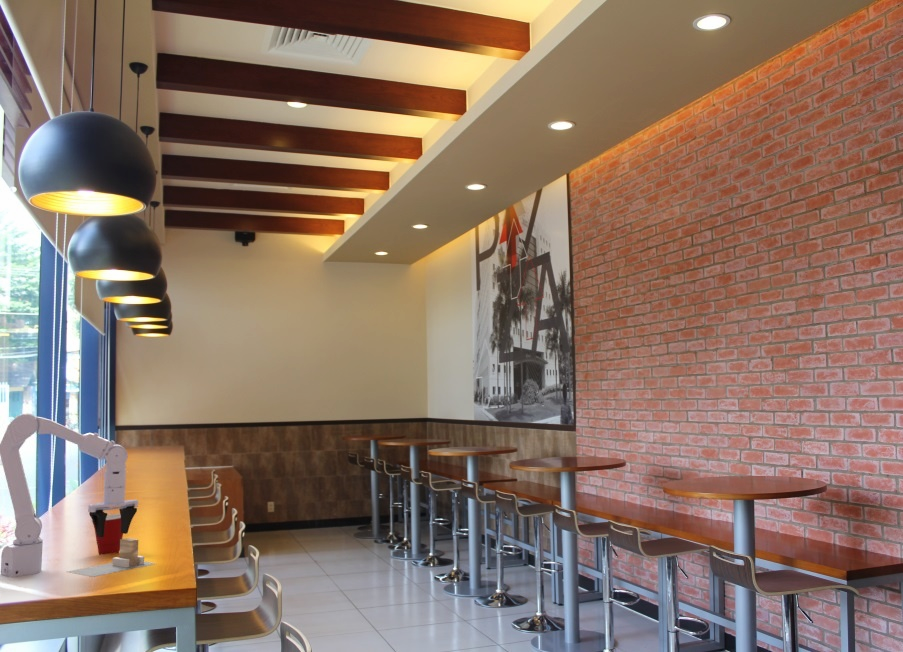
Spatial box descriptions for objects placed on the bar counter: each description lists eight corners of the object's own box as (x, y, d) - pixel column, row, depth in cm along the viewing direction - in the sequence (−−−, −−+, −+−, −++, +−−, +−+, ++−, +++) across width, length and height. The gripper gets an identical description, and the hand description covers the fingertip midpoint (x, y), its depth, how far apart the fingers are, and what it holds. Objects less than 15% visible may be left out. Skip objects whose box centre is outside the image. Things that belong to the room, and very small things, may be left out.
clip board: (92, 580, 209) (92, 569, 210) (66, 575, 216) (66, 564, 216) (156, 567, 226) (156, 556, 226) (130, 562, 233) (130, 552, 233)
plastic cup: (91, 552, 249) (93, 513, 250) (128, 550, 252) (129, 512, 253) (86, 558, 238) (87, 518, 240) (124, 556, 241) (125, 516, 243)
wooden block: (130, 566, 223) (131, 540, 224) (119, 564, 226) (120, 539, 226) (137, 564, 225) (138, 539, 226) (126, 562, 228) (127, 538, 228)
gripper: (99, 490, 219) (97, 540, 218) (145, 485, 231) (143, 532, 230) (84, 488, 223) (82, 537, 221) (130, 484, 235) (128, 530, 234)
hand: (112, 535), depth 226 cm, fingers open, 7 cm apart
